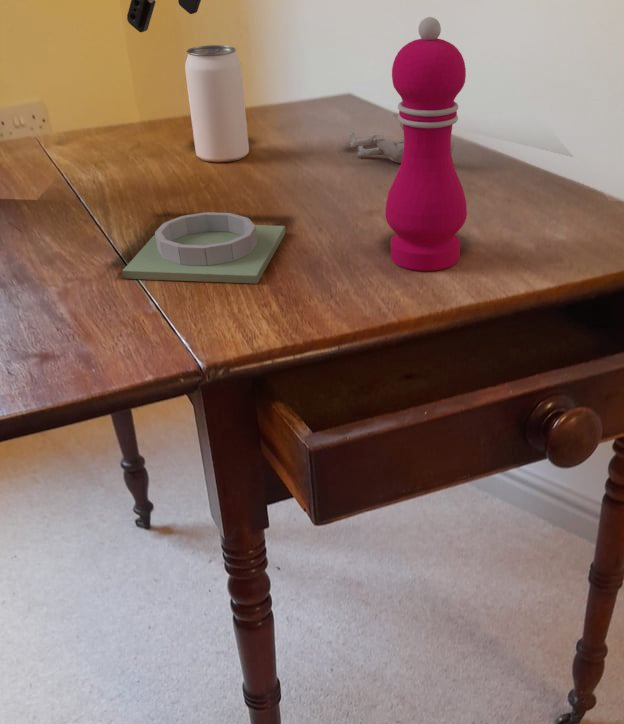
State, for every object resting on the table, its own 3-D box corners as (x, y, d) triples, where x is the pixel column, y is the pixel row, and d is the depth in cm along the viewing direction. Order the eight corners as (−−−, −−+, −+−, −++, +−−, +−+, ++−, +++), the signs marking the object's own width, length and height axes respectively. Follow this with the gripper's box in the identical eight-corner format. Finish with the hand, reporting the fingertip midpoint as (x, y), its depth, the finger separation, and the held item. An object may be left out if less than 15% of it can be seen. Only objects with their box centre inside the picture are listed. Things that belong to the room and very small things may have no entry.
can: (192, 163, 104) (178, 55, 97) (200, 148, 109) (187, 44, 102) (246, 163, 104) (236, 54, 97) (251, 147, 109) (242, 44, 103)
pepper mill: (392, 241, 83) (392, 9, 72) (468, 245, 82) (479, 10, 71) (379, 271, 77) (376, 23, 66) (460, 276, 76) (471, 25, 65)
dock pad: (123, 279, 76) (118, 252, 75) (166, 229, 86) (162, 204, 85) (257, 284, 75) (254, 256, 74) (285, 233, 85) (283, 208, 84)
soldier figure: (369, 157, 109) (460, 131, 105) (371, 192, 108) (464, 167, 103) (342, 123, 102) (439, 94, 98) (344, 160, 101) (442, 132, 96)
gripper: (221, -164, 87) (176, -18, 99) (127, -152, 77) (89, 9, 89) (278, -116, 87) (227, 25, 99) (191, -97, 78) (146, 57, 89)
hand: (162, 17), depth 94 cm, fingers open, 8 cm apart
